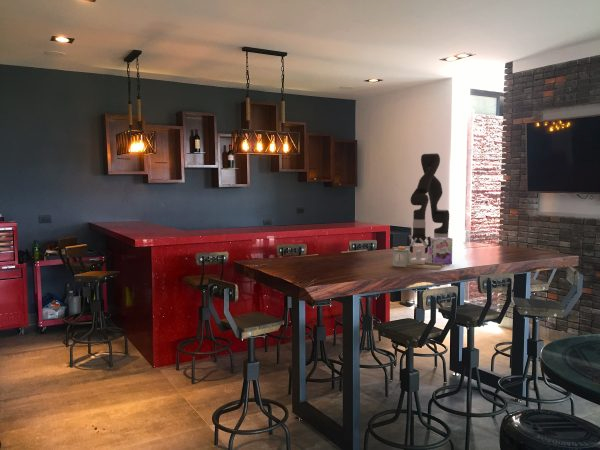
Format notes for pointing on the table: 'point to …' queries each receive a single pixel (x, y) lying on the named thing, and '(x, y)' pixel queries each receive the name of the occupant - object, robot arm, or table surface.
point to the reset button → (401, 248)
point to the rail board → (425, 265)
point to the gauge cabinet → (401, 257)
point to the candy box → (440, 250)
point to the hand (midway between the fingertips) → (418, 253)
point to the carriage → (418, 258)
